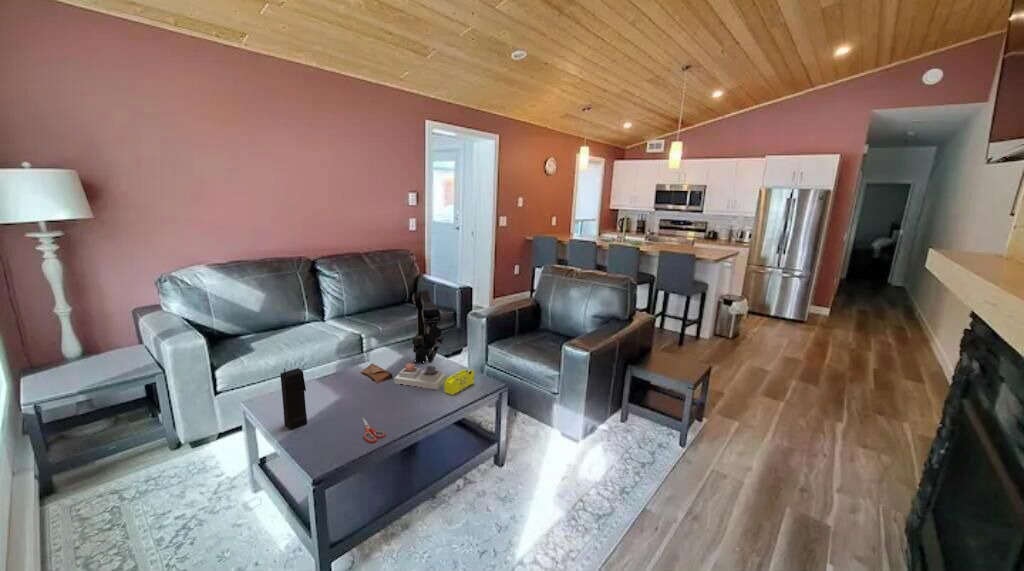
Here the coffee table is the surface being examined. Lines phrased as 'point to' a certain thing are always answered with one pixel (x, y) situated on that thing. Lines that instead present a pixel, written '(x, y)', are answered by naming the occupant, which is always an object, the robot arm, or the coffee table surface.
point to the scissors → (372, 433)
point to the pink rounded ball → (410, 367)
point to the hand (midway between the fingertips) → (430, 362)
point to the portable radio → (293, 398)
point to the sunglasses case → (376, 373)
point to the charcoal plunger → (430, 370)
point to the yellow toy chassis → (459, 381)
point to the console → (420, 378)
